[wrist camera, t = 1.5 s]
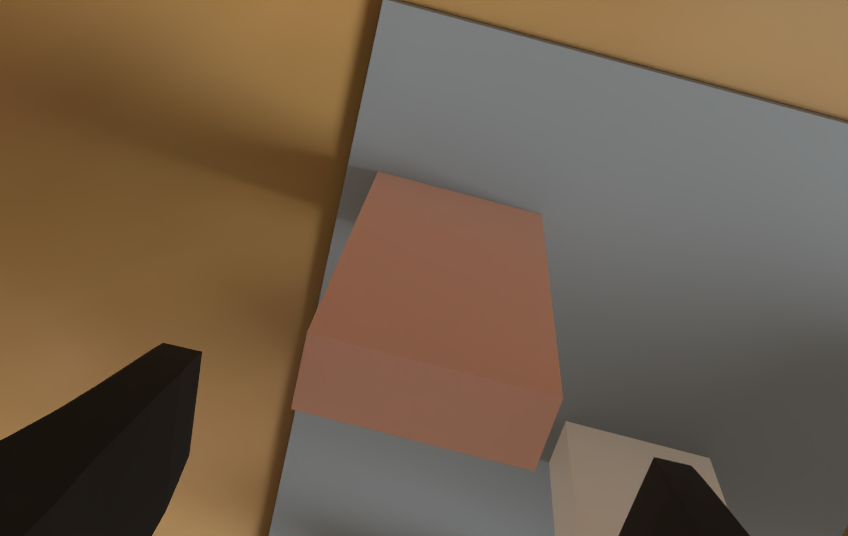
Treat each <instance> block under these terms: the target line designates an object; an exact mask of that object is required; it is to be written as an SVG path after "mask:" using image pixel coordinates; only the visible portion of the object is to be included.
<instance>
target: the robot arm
mask: <svg viewBox="0 0 848 536" xmlns="http://www.w3.org/2000/svg"><path fill="white" fill-rule="evenodd" d="M201 356H202V352H200V351H196V350H192V349H187V348H183V347H179V346H175V345H170V344H166V343H162V344H160V345H159V346H157V347H155V348H154V349H152V350H150V351H149V352H147V353H146V354H144V355H143V356H141V357H140V358H138V359H137V360H135V361H134V362H132V363H131V364H129V365H127V366H126V367H124V368H123V369H121V370H120V371H118V372H117V373H115V374H114V375H112V376H111V377H109V378H108V379H106V380H104V381H103V382H101V383H100V384H98V385H97V386H95V387H93V388H92V389H90V390H88V391H87V392H85V393H84V394H82V395H80V396H79V397H77V398H75V399H74V400H72V401H70V402H69V403H67V404H66V405H64V406H62V407H61V408H59V409H57V410H55V411H54V412H52V413H50V414H48V415H47V416H45V417H43V418H41V419H39V420H37V421H36V422H34V423H32V424H30V425H28V426H27V427H25V428H23V429H21V430H19V431H17V432H16V433H14V434H12V435H10V436H8V437H6V438H4V439H2V440H0V536H152V534H153V533H154V531H155V529H156V527H157V526H158V524H159V522H160V520H161V519H162V517H163V515H164V513H165V511H166V509H167V507H168V504H169V502H170V500H171V497H172V495H173V493H174V490H175V488H176V486H177V483H178V481H179V479H180V476H181V474H182V471H183V469H184V466H185V464H186V462H187V459H188V457H189V452H190V444H191V436H192V428H193V420H194V412H195V404H196V396H197V388H198V380H199V372H200V364H201ZM618 536H750V535H749V534H748V533H747V531H746V530H745V529H744V528H743V526H742V525H741V524H740V523H739V522H738V520H737V519H736V518H735V517H734V515H733V514H732V513H731V512H730V510H729V509H728V508H727V507H726V506H725V504H724V503H723V502H722V501H721V499H720V498H719V497H718V496H717V495H716V493H715V492H714V491H713V490H712V488H711V487H710V486H709V485H708V484H707V482H706V481H705V480H704V479H703V478H702V477H701V476H700V474H699V473H698V472H697V471H696V470H695V469H694V468H693V467H692V466H691V465H687V464H682V463H678V462H674V461H669V460H665V459H661V458H656V457H654V458H653V460H652V462H651V465H650V467H649V469H648V471H647V473H646V476H645V478H644V480H643V482H642V484H641V487H640V489H639V491H638V493H637V496H636V498H635V500H634V502H633V504H632V507H631V509H630V511H629V513H628V515H627V518H626V520H625V522H624V524H623V527H622V529H621V531H620V533H619V535H618Z"/></svg>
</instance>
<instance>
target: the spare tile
mask: <svg viewBox="0 0 848 536" xmlns="http://www.w3.org/2000/svg"><path fill="white" fill-rule="evenodd" d="M562 400H563V393H562V384H561V376H560V367H559V358H558V350H557V341H556V333H555V324H554V315H553V307H552V298H551V289H550V281H549V272H548V264H547V255H546V246H545V238H544V229H543V220H542V214H538V213H534V212H530V211H526V210H523V209H519V208H515V207H511V206H507V205H504V204H500V203H496V202H492V201H489V200H485V199H481V198H477V197H473V196H470V195H466V194H462V193H458V192H454V191H451V190H447V189H443V188H439V187H435V186H432V185H428V184H424V183H420V182H417V181H413V180H409V179H405V178H401V177H398V176H394V175H390V174H386V173H382V172H379V171H378V172H377V175H376V177H375V179H374V182H373V184H372V186H371V188H370V191H369V193H368V195H367V197H366V200H365V202H364V204H363V206H362V209H361V211H360V213H359V216H358V218H357V220H356V222H355V225H354V227H353V229H352V231H351V234H350V236H349V238H348V240H347V243H346V245H345V247H344V250H343V252H342V254H341V256H340V259H339V261H338V263H337V265H336V268H335V270H334V272H333V275H332V277H331V279H330V281H329V284H328V286H327V288H326V290H325V293H324V295H323V297H322V299H321V302H320V304H319V306H318V309H317V311H316V313H315V315H314V318H313V320H312V322H311V324H310V327H309V329H308V331H307V335H306V340H305V344H304V349H303V354H302V359H301V363H300V368H299V373H298V378H297V382H296V387H295V392H294V397H293V401H292V406H291V409H293V410H297V411H301V412H304V413H308V414H312V415H316V416H320V417H324V418H328V419H332V420H336V421H340V422H344V423H347V424H351V425H355V426H359V427H363V428H367V429H371V430H375V431H379V432H383V433H386V434H390V435H394V436H398V437H402V438H406V439H410V440H414V441H418V442H422V443H426V444H429V445H433V446H437V447H441V448H445V449H449V450H453V451H457V452H461V453H465V454H468V455H472V456H476V457H480V458H484V459H488V460H492V461H496V462H500V463H504V464H508V465H511V466H515V467H519V468H523V469H527V470H531V471H535V469H536V467H537V464H538V462H539V459H540V456H541V454H542V451H543V449H544V446H545V444H546V441H547V439H548V436H549V433H550V431H551V428H552V426H553V423H554V421H555V418H556V415H557V413H558V410H559V408H560V405H561V403H562Z"/></svg>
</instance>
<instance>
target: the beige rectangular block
mask: <svg viewBox="0 0 848 536" xmlns="http://www.w3.org/2000/svg"><path fill="white" fill-rule="evenodd" d="M654 457H656V458H661V459H665V460H669V461H674V462H678V463H682V464H687V465H691V466H692V467H693V468H694V469H695V470H696V471H697V472H698V473H699V474H700V476H701V477H702V478H703V479H704V480H705V481H706V482H707V484H708V485H709V486H710V487H711V488H712V490H713V491H714V492H715V493H716V495H717V496H718V497H719V498H720V499H721V501H722V502H723V503H724V504H725V506H726V507H727V505H726V502H725V499H724V497H723V494H722V491H721V488H720V485H719V483H718V480H717V477H716V474H715V472H714V469H713V466H712V463H711V460H710V458H707V457H703V456H699V455H696V454H692V453H688V452H684V451H680V450H676V449H672V448H668V447H664V446H661V445H657V444H653V443H649V442H645V441H641V440H637V439H633V438H630V437H626V436H622V435H618V434H614V433H610V432H606V431H602V430H599V429H595V428H591V427H587V426H583V425H579V424H575V423H571V422H568V421H566V422H565V424H564V427H563V429H562V432H561V434H560V437H559V439H558V442H557V444H556V447H555V449H554V452H553V454H552V457H551V459H550V462H549V468H550V481H551V494H552V507H553V519H554V532H555V536H618V535H619V533H620V531H621V529H622V527H623V524H624V522H625V520H626V518H627V515H628V513H629V511H630V509H631V507H632V504H633V502H634V500H635V498H636V496H637V493H638V491H639V489H640V487H641V484H642V482H643V480H644V478H645V476H646V473H647V471H648V469H649V467H650V465H651V462H652V460H653V458H654Z"/></svg>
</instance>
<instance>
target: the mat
mask: <svg viewBox="0 0 848 536" xmlns="http://www.w3.org/2000/svg"><path fill="white" fill-rule="evenodd" d="M378 171H379V172H382V173H386V174H390V175H394V176H398V177H401V178H405V179H409V180H413V181H417V182H420V183H424V184H428V185H432V186H435V187H439V188H443V189H447V190H451V191H454V192H458V193H462V194H466V195H470V196H473V197H477V198H481V199H485V200H489V201H492V202H496V203H500V204H504V205H507V206H511V207H515V208H519V209H523V210H526V211H530V212H534V213H538V214H542V220H543V229H544V238H545V246H546V255H547V264H548V272H549V281H550V289H551V298H552V307H553V315H554V324H555V333H556V341H557V350H558V358H559V367H560V376H561V384H562V393H563V400H562V403H561V405H560V408H559V410H558V413H557V415H556V418H555V421H554V423H553V426H552V428H551V431H550V433H549V436H548V439H547V441H546V444H545V446H544V449H543V451H542V454H541V456H540V459H539V462H538V464H537V467H536V469H535V471H531V470H527V469H523V468H519V467H515V466H511V465H508V464H504V463H500V462H496V461H492V460H488V459H484V458H480V457H476V456H472V455H468V454H465V453H461V452H457V451H453V450H449V449H445V448H441V447H437V446H433V445H429V444H426V443H422V442H418V441H414V440H410V439H406V438H402V437H398V436H394V435H390V434H386V433H383V432H379V431H375V430H371V429H367V428H363V427H359V426H355V425H351V424H347V423H344V422H340V421H336V420H332V419H328V418H324V417H320V416H316V415H312V414H308V413H304V412H301V411H297V410H295V414H294V419H293V424H292V428H291V433H290V438H289V443H288V447H287V452H286V457H285V461H284V466H283V471H282V475H281V480H280V485H279V489H278V494H277V499H276V503H275V508H274V513H273V518H272V522H271V527H270V532H269V536H555V532H554V519H553V507H552V494H551V481H550V468H549V462H550V459H551V457H552V454H553V452H554V449H555V447H556V444H557V442H558V439H559V437H560V434H561V432H562V429H563V427H564V424H565V422H566V421H568V422H571V423H575V424H579V425H583V426H587V427H591V428H595V429H599V430H602V431H606V432H610V433H614V434H618V435H622V436H626V437H630V438H633V439H637V440H641V441H645V442H649V443H653V444H657V445H661V446H664V447H668V448H672V449H676V450H680V451H684V452H688V453H692V454H696V455H699V456H703V457H707V458H710V460H711V463H712V466H713V469H714V472H715V474H716V477H717V480H718V483H719V485H720V488H721V491H722V494H723V497H724V499H725V502H726V505H727V508H728V509H729V510H730V512H731V513H732V514H733V515H734V517H735V518H736V519H737V520H738V522H739V523H740V524H741V525H742V526H743V528H744V529H745V530H746V531H747V533H748V534H749V535H750V536H842V534H843V533H844V531H845V529H846V528H847V526H848V121H845V120H841V119H837V118H833V117H830V116H826V115H822V114H819V113H815V112H811V111H807V110H804V109H800V108H796V107H793V106H789V105H785V104H782V103H778V102H774V101H770V100H767V99H763V98H759V97H756V96H752V95H748V94H744V93H741V92H737V91H733V90H730V89H726V88H722V87H718V86H715V85H711V84H707V83H704V82H700V81H696V80H692V79H689V78H685V77H681V76H678V75H674V74H670V73H666V72H663V71H659V70H655V69H652V68H648V67H644V66H640V65H637V64H633V63H629V62H626V61H622V60H618V59H614V58H611V57H607V56H603V55H600V54H596V53H592V52H588V51H585V50H581V49H577V48H574V47H570V46H566V45H562V44H559V43H555V42H551V41H548V40H544V39H540V38H536V37H533V36H529V35H525V34H522V33H518V32H514V31H511V30H507V29H503V28H499V27H496V26H492V25H488V24H485V23H481V22H477V21H473V20H470V19H466V18H462V17H459V16H455V15H451V14H447V13H444V12H440V11H436V10H433V9H429V8H425V7H421V6H418V5H414V4H410V3H407V2H403V1H399V0H383V2H382V7H381V11H380V16H379V21H378V25H377V30H376V35H375V39H374V44H373V49H372V53H371V58H370V63H369V68H368V72H367V77H366V82H365V86H364V91H363V96H362V100H361V105H360V110H359V114H358V119H357V124H356V128H355V133H354V138H353V143H352V147H351V152H350V157H349V161H348V166H347V171H346V175H345V180H344V185H343V189H342V194H341V199H340V203H339V208H338V213H337V218H336V222H335V227H334V232H333V236H332V241H331V246H330V250H329V255H328V260H327V264H326V269H325V274H324V278H323V283H322V288H321V293H320V297H319V302H318V306H319V304H320V302H321V299H322V297H323V295H324V293H325V290H326V288H327V286H328V284H329V281H330V279H331V277H332V275H333V272H334V270H335V268H336V265H337V263H338V261H339V259H340V256H341V254H342V252H343V250H344V247H345V245H346V243H347V240H348V238H349V236H350V234H351V231H352V229H353V227H354V225H355V222H356V220H357V218H358V216H359V213H360V211H361V209H362V206H363V204H364V202H365V200H366V197H367V195H368V193H369V191H370V188H371V186H372V184H373V182H374V179H375V177H376V175H377V172H378ZM317 309H318V307H317Z"/></svg>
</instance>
